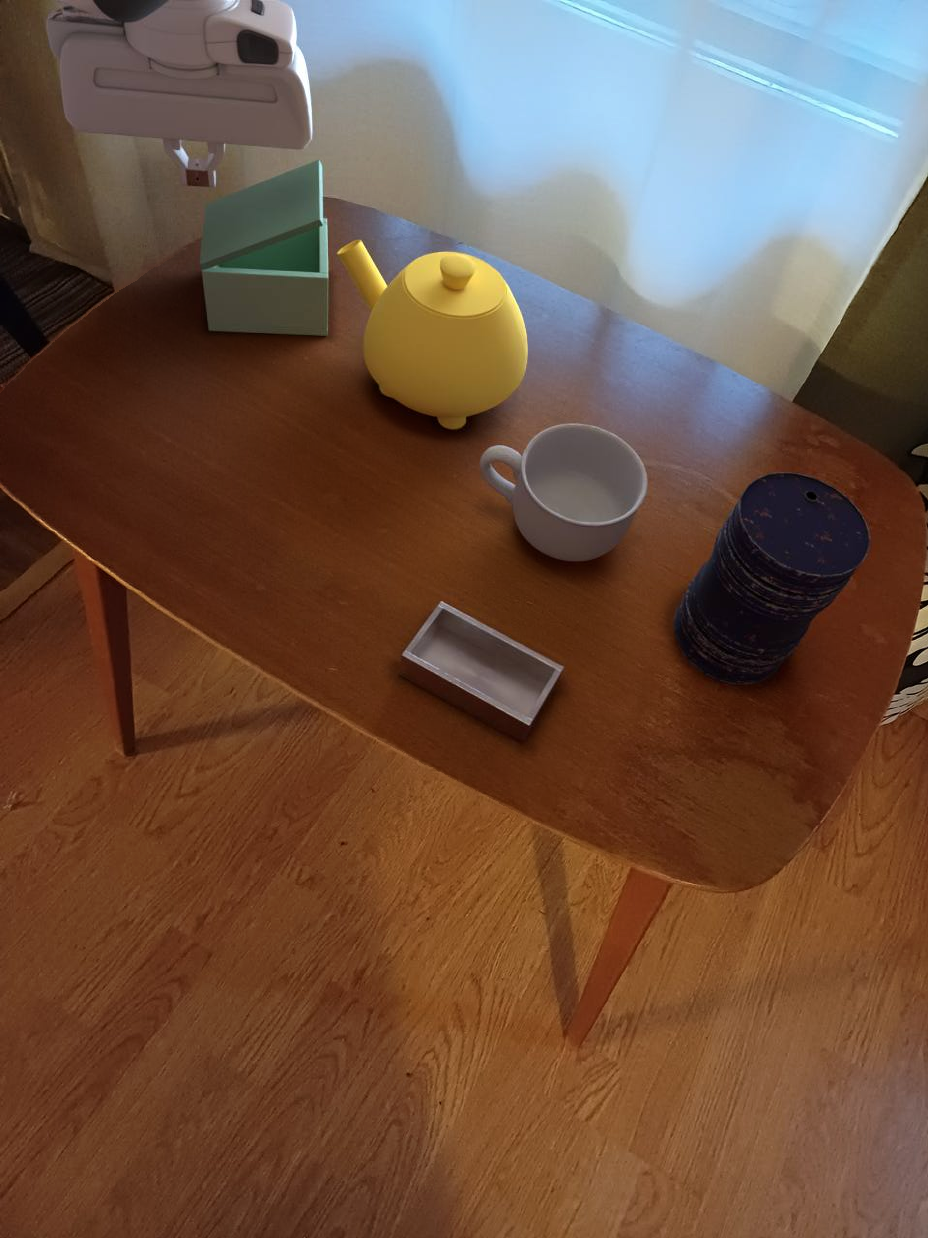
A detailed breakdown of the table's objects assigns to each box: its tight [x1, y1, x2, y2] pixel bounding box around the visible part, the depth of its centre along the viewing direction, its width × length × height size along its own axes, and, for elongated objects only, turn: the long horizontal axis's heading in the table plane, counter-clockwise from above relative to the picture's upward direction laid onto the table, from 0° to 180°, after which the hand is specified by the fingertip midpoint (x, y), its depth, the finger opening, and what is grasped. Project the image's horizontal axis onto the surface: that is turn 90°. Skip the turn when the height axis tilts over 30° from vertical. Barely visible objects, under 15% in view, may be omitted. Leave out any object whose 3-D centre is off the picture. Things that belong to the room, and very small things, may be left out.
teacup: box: [478, 423, 649, 562], centre depth 80 cm, size 14×11×8 cm
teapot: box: [336, 238, 529, 430], centre depth 86 cm, size 20×16×14 cm
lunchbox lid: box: [199, 159, 324, 270], centre depth 87 cm, size 12×10×1 cm
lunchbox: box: [201, 217, 329, 337], centre depth 92 cm, size 12×10×7 cm
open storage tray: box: [398, 601, 565, 744], centre depth 72 cm, size 11×6×3 cm, turn 61°
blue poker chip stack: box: [673, 471, 871, 686], centre depth 72 cm, size 10×10×15 cm
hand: (199, 182), depth 83 cm, fingers closed
